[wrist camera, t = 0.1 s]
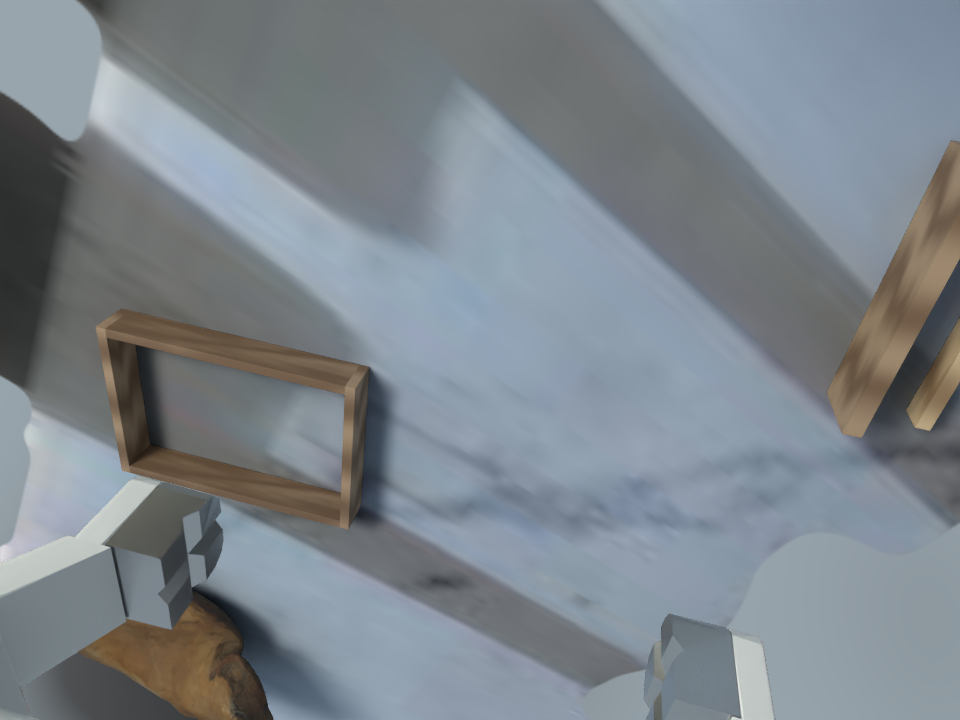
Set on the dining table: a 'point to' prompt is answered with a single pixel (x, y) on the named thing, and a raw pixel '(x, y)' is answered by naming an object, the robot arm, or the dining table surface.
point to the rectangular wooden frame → (245, 355)
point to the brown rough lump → (188, 663)
